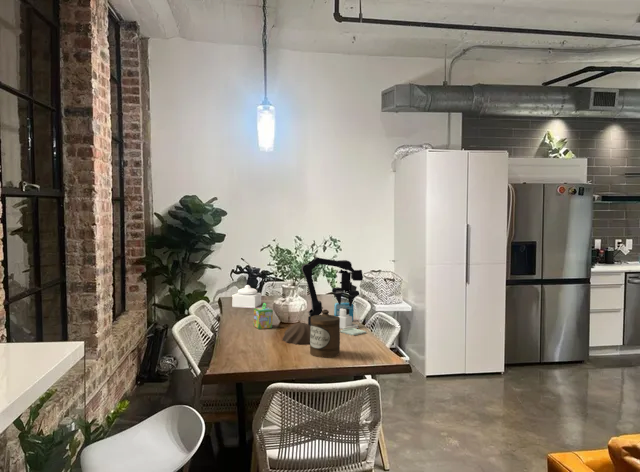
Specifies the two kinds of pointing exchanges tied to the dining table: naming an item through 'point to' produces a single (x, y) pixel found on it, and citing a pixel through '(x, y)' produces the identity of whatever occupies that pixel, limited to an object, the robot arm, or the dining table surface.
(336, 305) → the data package
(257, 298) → the butter dish
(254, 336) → the dining table surface
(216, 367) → the dining table surface
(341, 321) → the medicine bottle
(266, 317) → the chalk box
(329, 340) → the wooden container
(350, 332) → the tray
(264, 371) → the dining table surface
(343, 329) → the bay
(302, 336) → the decorative dome
